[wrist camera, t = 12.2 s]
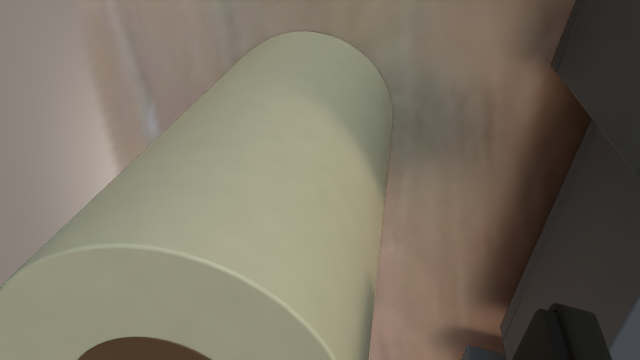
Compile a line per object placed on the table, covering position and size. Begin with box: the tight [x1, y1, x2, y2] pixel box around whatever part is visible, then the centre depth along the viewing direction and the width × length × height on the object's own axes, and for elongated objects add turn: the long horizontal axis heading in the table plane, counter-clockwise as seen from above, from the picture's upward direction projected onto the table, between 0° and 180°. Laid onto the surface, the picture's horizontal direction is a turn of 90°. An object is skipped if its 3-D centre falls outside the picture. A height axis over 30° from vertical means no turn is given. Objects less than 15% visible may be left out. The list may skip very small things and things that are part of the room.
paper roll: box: [0, 32, 393, 360], centre depth 14 cm, size 6×6×12 cm
